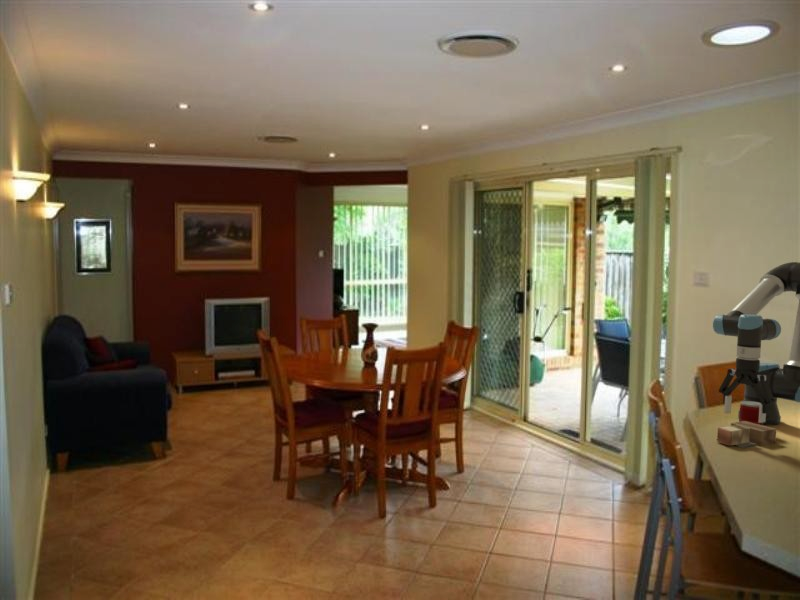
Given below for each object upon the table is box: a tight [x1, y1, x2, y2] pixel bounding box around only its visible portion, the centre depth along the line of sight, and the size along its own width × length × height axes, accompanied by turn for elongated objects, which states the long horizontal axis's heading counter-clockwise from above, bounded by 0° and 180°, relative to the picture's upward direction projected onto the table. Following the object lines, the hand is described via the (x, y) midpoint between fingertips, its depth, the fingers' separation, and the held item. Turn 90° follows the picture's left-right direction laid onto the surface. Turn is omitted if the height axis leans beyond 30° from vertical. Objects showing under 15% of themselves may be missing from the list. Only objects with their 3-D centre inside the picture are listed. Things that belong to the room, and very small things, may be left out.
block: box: [716, 425, 750, 446], centre depth 238 cm, size 5×5×10 cm
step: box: [730, 421, 777, 446], centre depth 243 cm, size 8×12×5 cm, turn 28°
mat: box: [736, 442, 758, 448], centre depth 239 cm, size 8×10×1 cm
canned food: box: [738, 400, 764, 426], centre depth 253 cm, size 8×8×11 cm
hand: (744, 417), depth 240 cm, fingers open, 13 cm apart
